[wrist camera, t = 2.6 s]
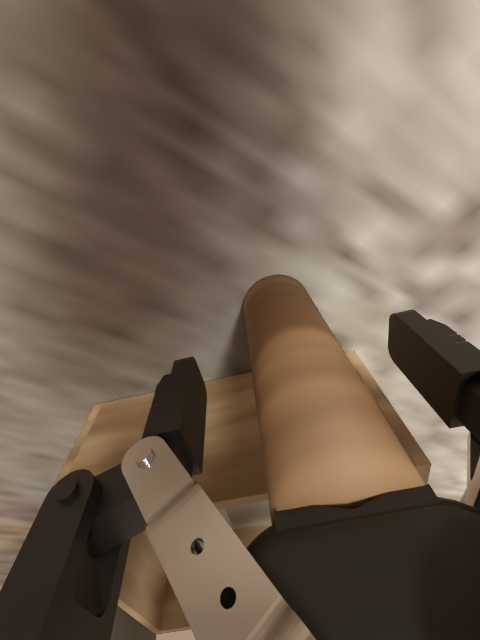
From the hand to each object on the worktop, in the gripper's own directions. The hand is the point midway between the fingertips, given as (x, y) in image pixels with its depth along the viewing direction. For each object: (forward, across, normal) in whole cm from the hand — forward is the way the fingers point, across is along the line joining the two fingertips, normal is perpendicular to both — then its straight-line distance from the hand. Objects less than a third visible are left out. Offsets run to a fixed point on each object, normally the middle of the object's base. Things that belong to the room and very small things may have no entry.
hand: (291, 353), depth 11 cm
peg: (+4, 0, 0) cm, 4 cm away
